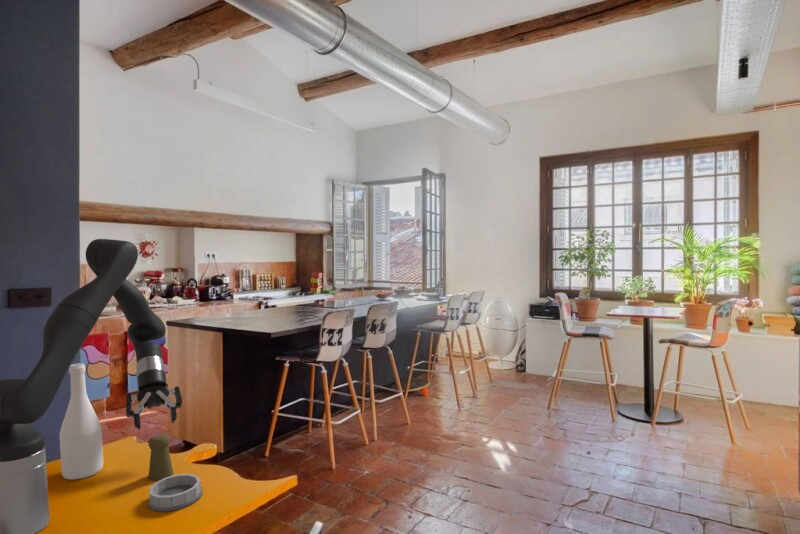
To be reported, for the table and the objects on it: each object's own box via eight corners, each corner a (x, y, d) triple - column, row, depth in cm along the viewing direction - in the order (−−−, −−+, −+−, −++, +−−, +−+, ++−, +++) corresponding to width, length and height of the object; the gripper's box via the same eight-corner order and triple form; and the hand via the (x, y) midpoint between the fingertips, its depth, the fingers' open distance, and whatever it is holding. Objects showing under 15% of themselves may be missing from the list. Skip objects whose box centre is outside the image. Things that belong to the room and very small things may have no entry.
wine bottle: (108, 471, 130) (102, 364, 129) (66, 484, 123) (59, 371, 122) (98, 461, 137) (92, 358, 135) (58, 473, 130) (51, 365, 128)
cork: (163, 481, 124) (161, 440, 123) (143, 479, 125) (141, 439, 125) (178, 470, 130) (176, 431, 129) (159, 469, 131) (157, 430, 131)
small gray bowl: (150, 518, 108) (149, 503, 107) (146, 494, 118) (145, 481, 118) (206, 501, 114) (205, 488, 114) (198, 480, 124) (197, 468, 124)
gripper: (123, 372, 136) (127, 424, 126) (178, 364, 143) (185, 413, 134) (123, 385, 140) (127, 436, 131) (176, 377, 148) (183, 425, 139)
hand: (156, 424), depth 133 cm, fingers open, 8 cm apart
